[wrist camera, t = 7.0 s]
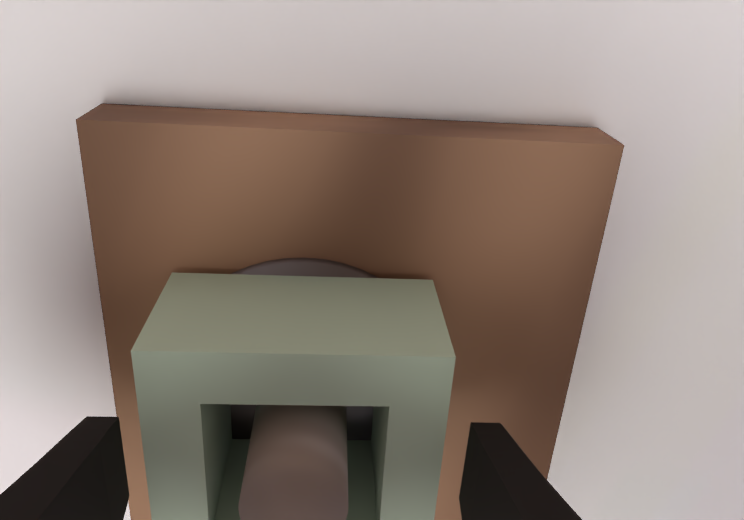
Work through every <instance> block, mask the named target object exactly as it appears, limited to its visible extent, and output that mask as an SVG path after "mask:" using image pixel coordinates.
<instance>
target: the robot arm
mask: <svg viewBox="0 0 744 520" xmlns="http://www.w3.org/2000/svg"><path fill="white" fill-rule="evenodd" d="M128 499H129V488H128V481H127V474H126V466H125V459H124V452H123V444H122V437H121V430H120V422H119V417H86V418H85V419H84V420H83V421H81V422H80V423H79V424H78V425H77V426H76V427H75V428H73V429H72V430H71V431H70V432H69V433H68V434H67V435H66V436H65V437H64V438H63V439H62V440H60V441H59V442H58V443H57V444H56V445H55V446H54V447H53V448H52V449H51V450H50V451H49V452H47V453H46V454H45V455H44V456H43V457H42V458H41V459H40V460H39V461H38V462H37V463H35V464H34V465H33V466H32V467H31V468H30V469H29V470H28V471H27V472H25V473H24V474H23V475H22V476H21V477H20V478H19V479H18V480H16V481H15V482H14V483H13V484H12V485H11V486H10V487H8V488H7V489H6V490H5V491H4V492H3V493H2V494H0V520H123V518H124V514H125V511H126V507H127V503H128ZM459 502H460V510H461V517H462V520H582V519H581V518H580V517H579V516H578V515H577V514H576V512H575V511H574V510H573V509H572V508H571V507H570V506H569V505H568V504H567V503H566V501H565V500H564V499H563V498H562V497H561V496H560V495H559V493H558V492H557V491H556V490H555V489H554V488H553V487H552V485H551V484H550V483H549V482H548V481H547V480H546V478H545V477H544V476H543V475H542V474H541V473H540V471H539V470H538V469H537V468H536V466H535V465H534V464H533V463H532V461H531V460H530V459H529V458H528V457H527V455H526V454H525V453H524V452H523V450H522V449H521V448H520V446H519V445H518V444H517V443H516V441H515V440H514V439H513V438H512V436H511V435H510V434H509V432H508V431H507V430H506V429H505V427H504V426H503V425H502V424H501V423H483V422H471V424H470V430H469V436H468V443H467V449H466V455H465V462H464V468H463V475H462V481H461V487H460V494H459Z"/></svg>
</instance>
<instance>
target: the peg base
mask: <svg viewBox="0 0 744 520" xmlns="http://www.w3.org/2000/svg"><path fill="white" fill-rule="evenodd" d="M76 124H77V131H78V138H79V145H80V153H81V160H82V167H83V174H84V182H85V189H86V196H87V203H88V211H89V218H90V225H91V232H92V240H93V247H94V254H95V262H96V269H97V276H98V283H99V291H100V298H101V305H102V312H103V320H104V327H105V334H106V341H107V349H108V356H109V363H110V370H111V378H112V385H113V392H114V399H115V407H116V414H117V417H119V422H120V430H121V437H122V444H123V452H124V459H125V466H126V474H127V481H128V488H129V499H128V501H129V508H130V515H131V520H152V518H151V510H150V502H149V494H148V486H147V478H146V470H145V462H144V454H143V446H142V438H141V429H140V421H139V413H138V405H137V397H136V389H135V381H134V373H133V365H132V357H131V349H132V348H133V346H134V344H135V342H136V340H137V338H138V336H139V334H140V332H141V330H142V328H143V327H144V325H145V323H146V321H147V319H148V317H149V315H150V313H151V311H152V309H153V308H154V306H155V304H156V302H157V300H158V298H159V296H160V294H161V292H162V290H163V289H164V287H165V285H166V283H167V281H168V279H169V277H170V275H171V273H172V272H173V273H209V274H244V275H280V276H316V277H352V278H388V279H424V280H433V282H434V286H435V289H436V292H437V296H438V299H439V302H440V306H441V309H442V313H443V316H444V319H445V323H446V326H447V329H448V333H449V336H450V339H451V343H452V346H453V349H454V353H455V356H456V359H455V367H454V374H453V382H452V389H451V397H450V404H449V412H448V419H447V427H446V434H445V442H444V449H443V457H442V464H441V472H440V479H439V487H438V494H437V502H436V509H435V517H434V520H462V517H461V510H460V502H459V494H460V487H461V481H462V475H463V468H464V462H465V455H466V449H467V443H468V436H469V430H470V424H471V422H483V423H501V424H502V425H503V426H504V427H505V429H506V430H507V431H508V432H509V434H510V435H511V436H512V438H513V439H514V440H515V441H516V443H517V444H518V445H519V446H520V448H521V449H522V450H523V452H524V453H525V454H526V455H527V457H528V458H529V459H530V460H531V461H532V463H533V464H534V465H535V466H536V468H537V469H538V470H539V471H540V473H541V474H542V475H543V476H544V477H545V478H546V480H547V476H548V472H549V468H550V463H551V459H552V455H553V450H554V446H555V442H556V437H557V433H558V429H559V425H560V420H561V416H562V412H563V407H564V403H565V399H566V394H567V390H568V386H569V381H570V377H571V373H572V368H573V364H574V360H575V355H576V351H577V347H578V343H579V338H580V334H581V330H582V325H583V321H584V317H585V312H586V308H587V304H588V299H589V295H590V291H591V286H592V282H593V278H594V273H595V269H596V265H597V261H598V256H599V252H600V248H601V243H602V239H603V235H604V230H605V226H606V222H607V217H608V213H609V209H610V204H611V200H612V196H613V191H614V187H615V183H616V179H617V174H618V170H619V166H620V161H621V157H622V153H623V148H624V145H623V144H622V143H620V142H619V141H617V140H615V139H614V138H612V137H611V136H609V135H608V134H606V133H605V132H603V131H602V130H600V129H599V128H591V127H571V126H550V125H529V124H509V123H488V122H468V121H447V120H426V119H406V118H385V117H365V116H344V115H323V114H303V113H282V112H262V111H241V110H220V109H200V108H179V107H159V106H138V105H117V104H100V105H99V106H97V107H96V108H94V109H92V110H91V111H89V112H87V113H86V114H84V115H83V116H81V117H79V118H78V119H76ZM230 405H231V426H232V439H250V443H249V449H248V454H247V460H246V465H245V471H244V476H243V482H242V487H241V493H240V499H239V506H238V510H239V515H240V518H241V520H346V518H347V515H348V462H347V440H371V435H372V421H373V407H374V406H314V405H243V404H230Z"/></svg>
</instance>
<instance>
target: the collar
mask: <svg viewBox="0 0 744 520" xmlns="http://www.w3.org/2000/svg"><path fill="white" fill-rule="evenodd" d="M131 357H132V365H133V373H134V381H135V389H136V397H137V405H138V413H139V421H140V429H141V438H142V446H143V454H144V462H145V470H146V478H147V486H148V494H149V502H150V510H151V518H152V520H241V518H240V515H239V510H238V506H239V499H240V493H241V487H242V482H243V476H244V471H245V465H246V460H247V454H248V449H249V443H250V439H232V426H231V405H230V404H243V405H314V406H374V407H373V421H372V435H371V440H347V462H348V515H347V518H346V520H434V517H435V509H436V502H437V494H438V487H439V479H440V472H441V464H442V457H443V449H444V442H445V434H446V427H447V419H448V412H449V404H450V397H451V389H452V382H453V374H454V367H455V359H456V356H455V353H454V349H453V346H452V343H451V339H450V336H449V333H448V329H447V326H446V323H445V319H444V316H443V313H442V309H441V306H440V302H439V299H438V296H437V292H436V289H435V286H434V282H433V280H424V279H388V278H352V277H316V276H280V275H244V274H209V273H173V272H172V273H171V275H170V277H169V279H168V281H167V283H166V285H165V287H164V289H163V290H162V292H161V294H160V296H159V298H158V300H157V302H156V304H155V306H154V308H153V309H152V311H151V313H150V315H149V317H148V319H147V321H146V323H145V325H144V327H143V328H142V330H141V332H140V334H139V336H138V338H137V340H136V342H135V344H134V346H133V348H132V349H131Z"/></svg>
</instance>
